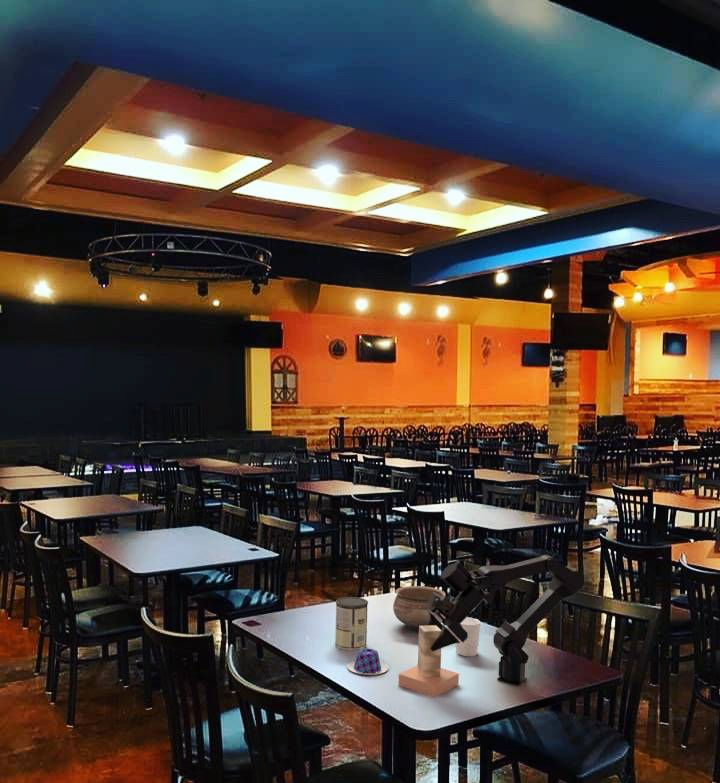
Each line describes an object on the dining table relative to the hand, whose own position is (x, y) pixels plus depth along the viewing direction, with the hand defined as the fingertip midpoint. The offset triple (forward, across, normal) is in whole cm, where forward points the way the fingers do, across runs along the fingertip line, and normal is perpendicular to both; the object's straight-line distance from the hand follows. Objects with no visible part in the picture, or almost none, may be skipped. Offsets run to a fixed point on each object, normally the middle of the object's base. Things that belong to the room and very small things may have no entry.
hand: (426, 644), depth 195 cm
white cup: (-7, -23, +23) cm, 33 cm away
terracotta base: (+7, 0, +9) cm, 11 cm away
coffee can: (+18, -34, -2) cm, 39 cm away
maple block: (+5, 0, +6) cm, 8 cm away
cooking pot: (-1, -49, +17) cm, 52 cm away
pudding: (+18, -14, -1) cm, 22 cm away
